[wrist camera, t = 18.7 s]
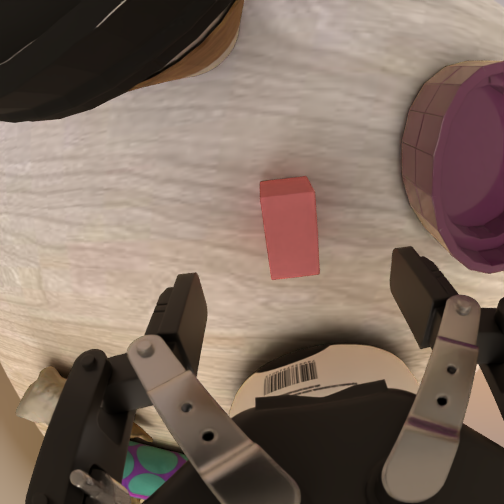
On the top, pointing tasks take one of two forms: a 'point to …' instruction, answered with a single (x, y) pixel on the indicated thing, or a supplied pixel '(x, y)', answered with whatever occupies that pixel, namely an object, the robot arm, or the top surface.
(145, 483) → the pencil case
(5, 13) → the coffee cup
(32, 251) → the top surface
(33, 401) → the ceramic sculpture
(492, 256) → the bowl
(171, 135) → the top surface
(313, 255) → the eraser
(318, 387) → the milk container
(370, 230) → the top surface
